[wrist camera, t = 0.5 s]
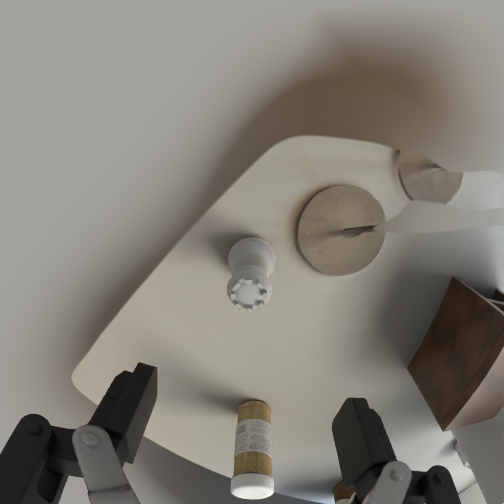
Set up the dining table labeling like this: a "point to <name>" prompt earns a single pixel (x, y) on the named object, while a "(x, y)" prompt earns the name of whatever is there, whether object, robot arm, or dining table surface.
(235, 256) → the rook chess piece
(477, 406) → the wooden lidded box
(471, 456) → the cylinder vase
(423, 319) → the dining table surface
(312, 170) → the dining table surface
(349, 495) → the wooden container
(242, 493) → the sprinkles bottle
